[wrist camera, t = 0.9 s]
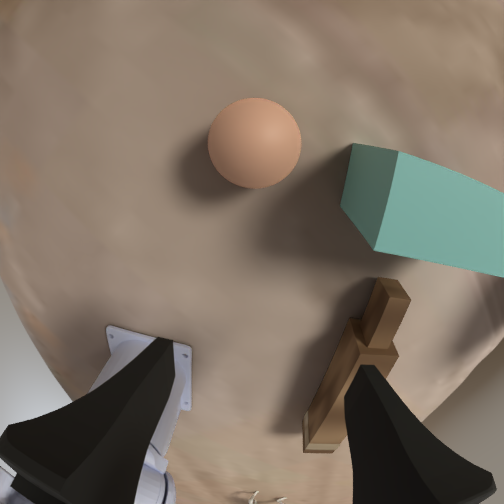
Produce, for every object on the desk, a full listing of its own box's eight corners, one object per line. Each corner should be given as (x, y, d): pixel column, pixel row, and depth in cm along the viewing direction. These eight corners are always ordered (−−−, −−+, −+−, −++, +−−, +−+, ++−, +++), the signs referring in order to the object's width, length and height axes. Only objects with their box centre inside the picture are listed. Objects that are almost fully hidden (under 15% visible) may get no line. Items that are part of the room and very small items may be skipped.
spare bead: (289, 183, 17) (292, 195, 14) (217, 171, 17) (202, 181, 14) (301, 111, 15) (308, 106, 12) (227, 101, 15) (214, 93, 12)
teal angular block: (451, 233, 17) (508, 278, 10) (339, 206, 17) (373, 250, 11) (466, 180, 15) (532, 208, 9) (352, 143, 15) (398, 151, 9)
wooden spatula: (329, 422, 26) (332, 453, 22) (301, 421, 26) (302, 453, 22) (402, 276, 19) (424, 307, 15) (365, 270, 19) (382, 302, 15)
